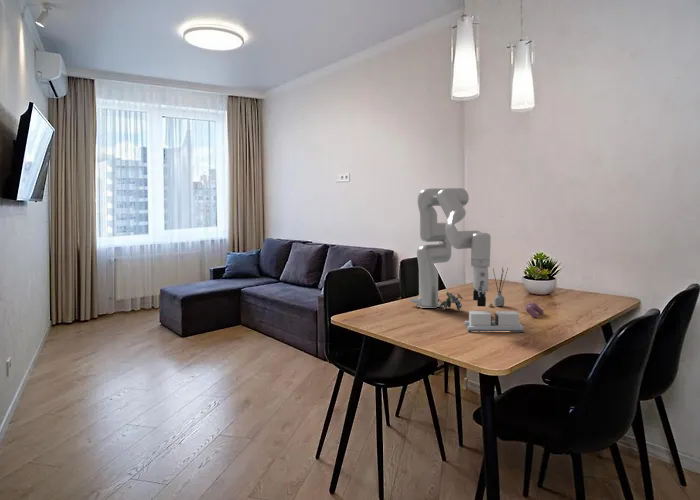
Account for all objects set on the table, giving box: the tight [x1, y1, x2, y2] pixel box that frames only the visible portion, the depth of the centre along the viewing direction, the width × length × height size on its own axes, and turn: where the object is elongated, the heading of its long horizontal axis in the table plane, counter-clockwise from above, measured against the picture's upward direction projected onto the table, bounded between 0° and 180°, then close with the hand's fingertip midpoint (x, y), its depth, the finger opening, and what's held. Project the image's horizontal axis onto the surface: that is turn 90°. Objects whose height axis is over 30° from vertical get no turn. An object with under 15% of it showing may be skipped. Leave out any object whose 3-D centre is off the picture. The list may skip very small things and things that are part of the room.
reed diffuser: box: [487, 267, 509, 308], centre depth 223 cm, size 10×7×20 cm
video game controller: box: [525, 301, 544, 319], centre depth 207 cm, size 10×5×7 cm, turn 141°
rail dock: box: [464, 310, 525, 332], centre depth 186 cm, size 22×10×7 cm, turn 84°
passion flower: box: [438, 291, 464, 312], centre depth 218 cm, size 11×11×12 cm
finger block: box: [468, 310, 493, 326], centre depth 187 cm, size 8×5×6 cm, turn 84°
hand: (479, 303), depth 187 cm, fingers open, 9 cm apart
